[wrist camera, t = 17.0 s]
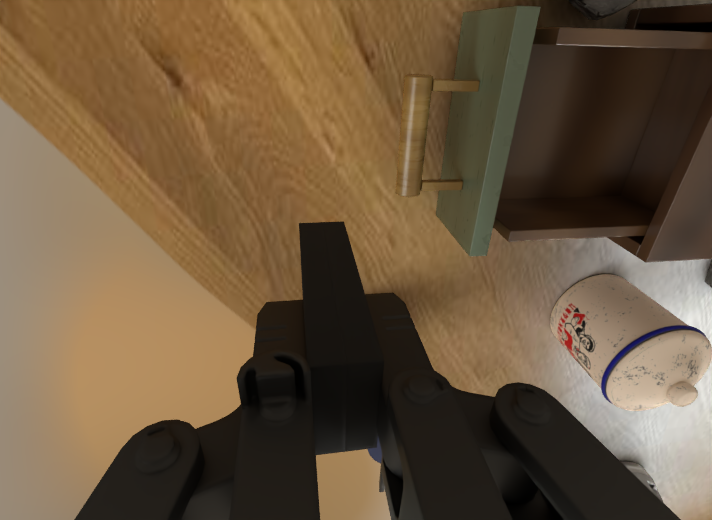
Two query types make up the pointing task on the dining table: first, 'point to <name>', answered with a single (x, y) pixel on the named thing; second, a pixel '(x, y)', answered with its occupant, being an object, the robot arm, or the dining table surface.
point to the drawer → (554, 127)
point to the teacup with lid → (630, 344)
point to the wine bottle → (709, 276)
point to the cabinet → (680, 162)
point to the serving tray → (599, 7)
